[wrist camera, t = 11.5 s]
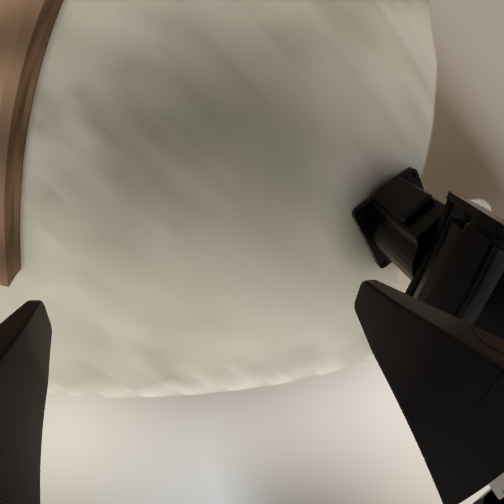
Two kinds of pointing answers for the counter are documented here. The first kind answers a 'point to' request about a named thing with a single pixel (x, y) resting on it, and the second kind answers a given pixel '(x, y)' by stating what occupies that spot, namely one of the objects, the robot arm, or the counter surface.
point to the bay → (18, 110)
